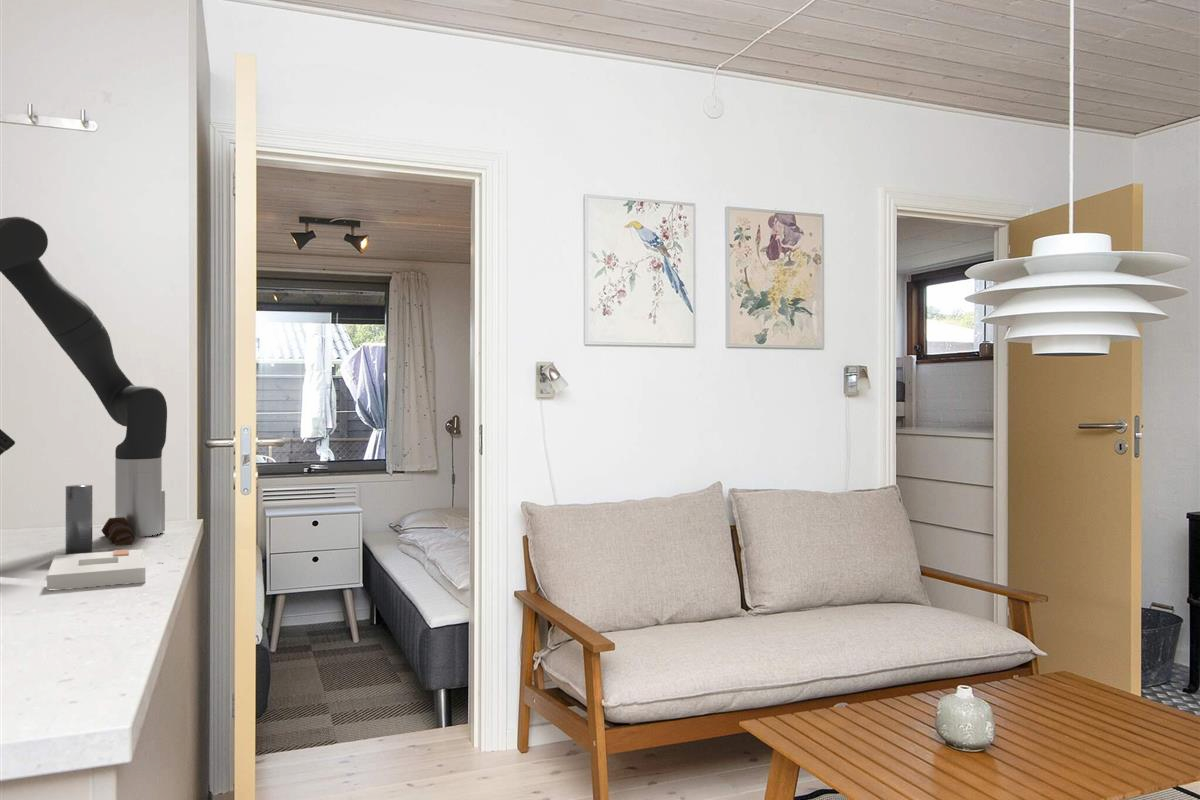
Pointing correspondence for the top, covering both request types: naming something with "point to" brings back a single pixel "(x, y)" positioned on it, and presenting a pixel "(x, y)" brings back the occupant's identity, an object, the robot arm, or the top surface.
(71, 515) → the cylinder
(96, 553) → the plate
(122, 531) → the bolt
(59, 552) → the mat
